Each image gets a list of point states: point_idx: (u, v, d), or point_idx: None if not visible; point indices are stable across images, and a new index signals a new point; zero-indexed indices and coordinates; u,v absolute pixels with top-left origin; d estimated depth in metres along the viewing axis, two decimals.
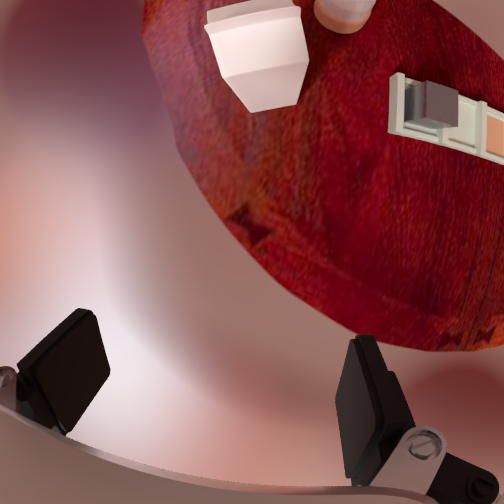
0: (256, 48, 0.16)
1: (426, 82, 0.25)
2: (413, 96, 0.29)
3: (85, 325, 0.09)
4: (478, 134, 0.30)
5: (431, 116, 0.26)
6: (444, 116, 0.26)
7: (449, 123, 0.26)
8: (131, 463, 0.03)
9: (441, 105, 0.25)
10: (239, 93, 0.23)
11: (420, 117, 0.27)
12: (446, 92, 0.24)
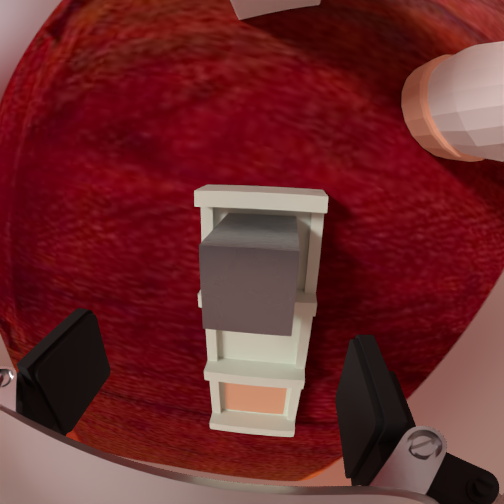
0: None
1: (293, 250, 0.13)
2: (272, 226, 0.17)
3: (85, 325, 0.09)
4: (241, 368, 0.23)
5: (205, 258, 0.14)
6: (214, 295, 0.14)
7: (204, 307, 0.15)
8: (131, 463, 0.03)
9: (239, 287, 0.14)
10: None
11: (210, 235, 0.15)
12: (279, 304, 0.14)
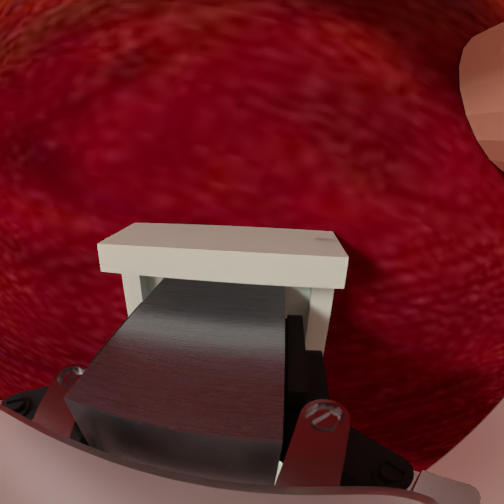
0: None
1: (267, 438, 0.05)
2: (233, 323, 0.08)
3: None
4: None
5: (82, 420, 0.05)
6: None
7: None
8: (131, 463, 0.03)
9: None
10: None
11: (99, 358, 0.06)
12: None
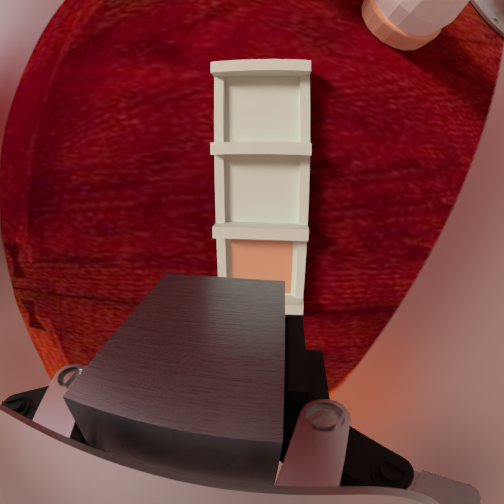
0: None
1: (267, 437, 0.05)
2: (233, 323, 0.08)
3: None
4: (248, 225, 0.26)
5: (81, 419, 0.05)
6: None
7: None
8: (131, 463, 0.03)
9: None
10: None
11: (99, 357, 0.06)
12: None
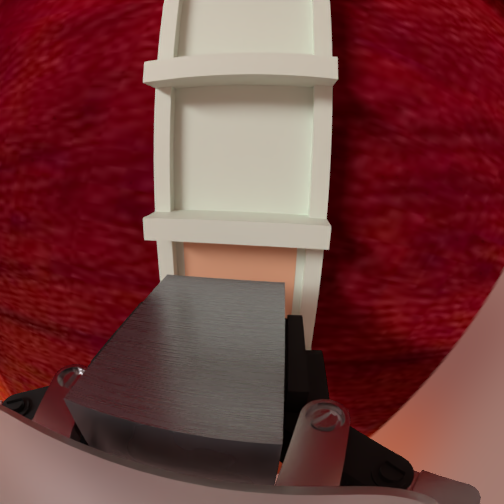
0: None
1: (267, 439, 0.05)
2: (233, 324, 0.08)
3: None
4: (211, 215, 0.13)
5: (82, 421, 0.05)
6: None
7: None
8: (131, 463, 0.03)
9: None
10: None
11: (99, 359, 0.06)
12: None
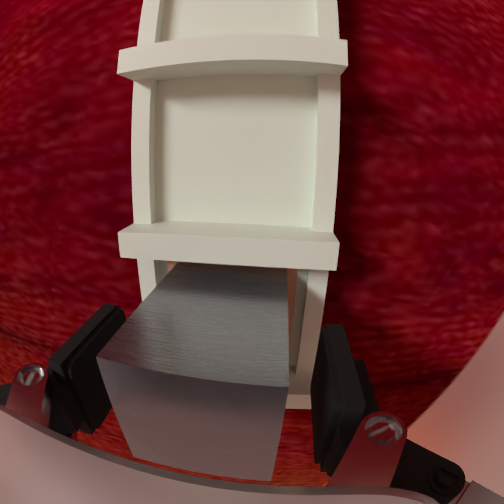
0: None
1: (276, 383, 0.06)
2: (243, 298, 0.10)
3: (114, 320, 0.10)
4: (196, 228, 0.11)
5: (110, 379, 0.06)
6: (139, 428, 0.07)
7: (128, 436, 0.07)
8: (131, 463, 0.03)
9: (176, 425, 0.07)
10: None
11: (126, 325, 0.08)
12: (248, 452, 0.07)
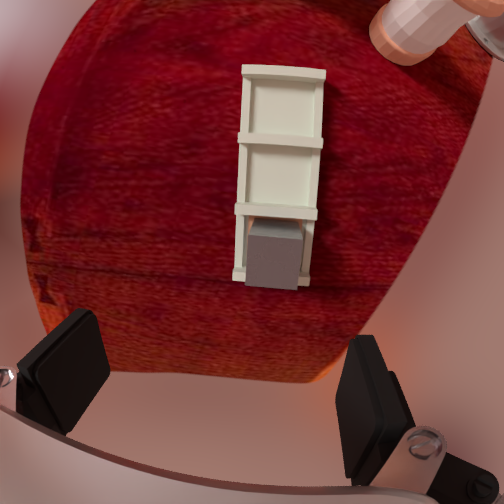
0: None
1: (299, 239, 0.24)
2: (285, 227, 0.28)
3: (85, 325, 0.09)
4: (265, 204, 0.30)
5: (250, 242, 0.25)
6: (254, 264, 0.25)
7: (247, 271, 0.26)
8: (131, 463, 0.03)
9: (269, 259, 0.25)
10: None
11: (251, 230, 0.26)
12: (290, 270, 0.25)
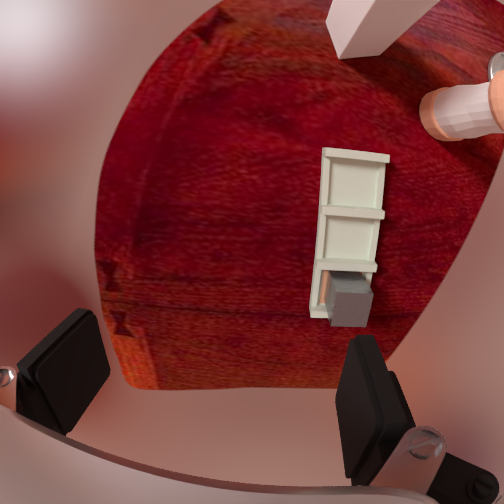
0: None
1: (371, 293, 0.32)
2: (355, 279, 0.36)
3: (85, 325, 0.09)
4: (338, 260, 0.38)
5: (337, 297, 0.33)
6: (338, 311, 0.33)
7: (332, 316, 0.34)
8: (131, 463, 0.03)
9: (349, 307, 0.33)
10: None
11: (335, 286, 0.34)
12: (363, 314, 0.33)
